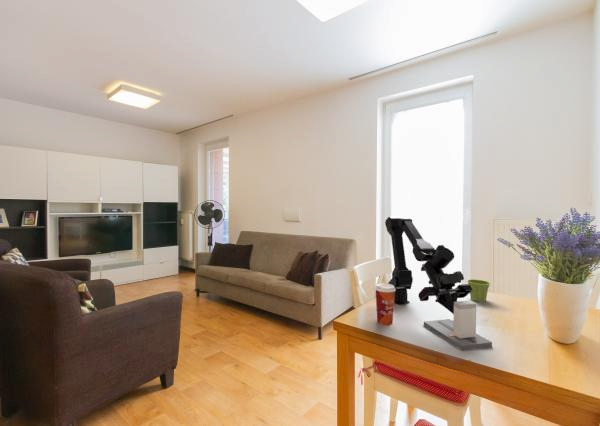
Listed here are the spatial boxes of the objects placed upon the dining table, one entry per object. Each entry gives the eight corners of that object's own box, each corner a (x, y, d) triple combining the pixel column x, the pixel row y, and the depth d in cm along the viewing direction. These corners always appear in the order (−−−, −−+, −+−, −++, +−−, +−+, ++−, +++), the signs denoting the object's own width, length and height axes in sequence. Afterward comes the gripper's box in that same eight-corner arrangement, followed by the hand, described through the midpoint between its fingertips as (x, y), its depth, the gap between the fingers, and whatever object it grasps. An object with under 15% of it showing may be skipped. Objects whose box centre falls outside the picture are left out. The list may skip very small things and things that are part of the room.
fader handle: (453, 334, 98) (453, 301, 98) (468, 332, 99) (469, 300, 99) (460, 338, 95) (460, 304, 95) (475, 336, 96) (476, 303, 96)
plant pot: (463, 296, 144) (464, 278, 143) (485, 297, 142) (485, 279, 142) (470, 302, 135) (471, 283, 134) (493, 304, 133) (494, 285, 132)
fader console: (423, 325, 109) (423, 321, 109) (449, 322, 112) (449, 318, 112) (462, 350, 91) (462, 345, 91) (491, 346, 93) (492, 341, 93)
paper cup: (384, 327, 108) (384, 289, 107) (370, 320, 114) (370, 284, 114) (400, 323, 111) (400, 286, 111) (385, 316, 118) (385, 282, 117)
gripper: (424, 264, 103) (445, 306, 93) (469, 262, 107) (494, 302, 97) (410, 280, 111) (428, 321, 101) (453, 278, 115) (475, 316, 105)
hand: (457, 315), depth 100 cm, fingers closed
